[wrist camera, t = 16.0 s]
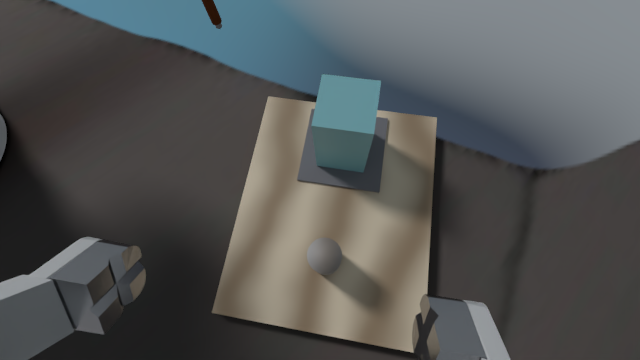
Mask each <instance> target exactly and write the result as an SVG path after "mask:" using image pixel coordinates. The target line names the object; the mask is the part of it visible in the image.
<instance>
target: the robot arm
mask: <svg viewBox="0 0 640 360" xmlns="http://www.w3.org/2000/svg"><path fill="white" fill-rule="evenodd" d="M6 141H7V130H6V125H5V122H4V119H3V117H2V116H1V114H0V161H1V158H2V156H3V153H4V150H5V146H6ZM141 257H142V255H141V251H140V248H139V247H137V246H135V245H130V244H125V243H120V242H115V241H109V240H104V239H103V240H102V239H97V238H92V237H84V238H80V239H79V240H77V241H76V242H75V243H73V244H72V245H70V246H69V247H68V248H66V249H65V250H63V251H62V252H61V253H59V254H58V255H56V256H55V257H54V258H52V259H51V260H49V261H48V262H47V263H45V264H44V265H42V266H41V267H40V268H38V269H37V270H35V271H34V272H33V273H31V274H30V275H20V276H17V277H15V278H12V279H9V280H6V281H3V282H1V283H0V360H28V359H30V358H32V357H33V356H35V355H37V354H38V353H40V352H41V351H43V350H45V349H46V348H48V347H50V346H51V345H53V344H55V343H56V342H58V341H60V340H61V339H63V338H65V337H66V336H68V335H69V334H71V333H73V332H74V330H79V331H85V332H91V333H97V334H103V335H105V333H106V332H107V331H108V330H109V329H110V328H111V327H112V325H113V324H114V323H115V322H116V321H117V320H118V319H119V317H120V316H121V315H122V314H123V306H125V305H127V304H129V303H130V302H132V301H134V300H135V299H136V298H137V296H138V295H139V294H140V293H141V291H142V289H143V286H144V284H145V281H146V272H145V268H144V267H143V266H142V265H141V264H140V262H139V260H140V258H141ZM420 309H421V312H420V313H419V314H417V315H416V316H415V319H414V323H413V330H412V344H413V351H414V353H415V355H416V356H417V357H418V359H419V360H511V359H510V357H509V354H508V352H507V350H506V348H505V346H504V343H503V341H502V339H501V337H500V334H499V332H498V330H497V328H496V326H495V323H494V321H493V319H492V317H491V315H490V312H489V310H488V308H487V306H486V305H485V304H484V303H479V302H473V301H467V300H460V299H454V298H447V297H441V296H435V295H428V294H424V295H423V296H422V298H421V301H420Z"/></svg>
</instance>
